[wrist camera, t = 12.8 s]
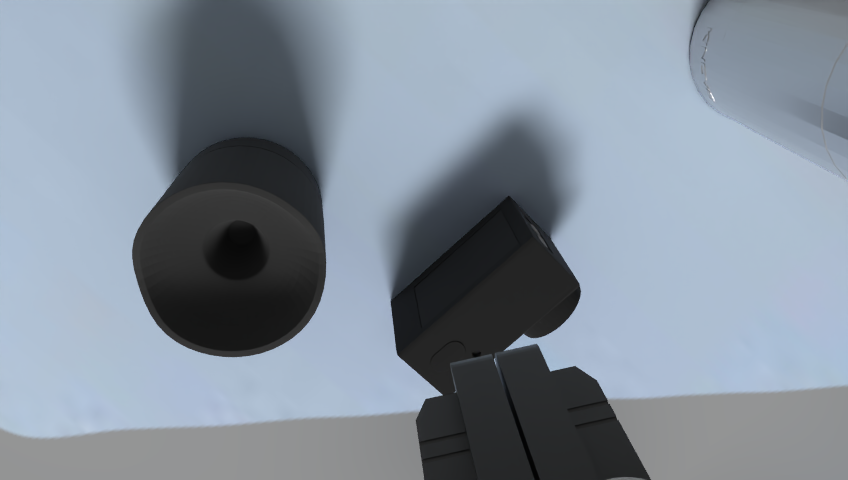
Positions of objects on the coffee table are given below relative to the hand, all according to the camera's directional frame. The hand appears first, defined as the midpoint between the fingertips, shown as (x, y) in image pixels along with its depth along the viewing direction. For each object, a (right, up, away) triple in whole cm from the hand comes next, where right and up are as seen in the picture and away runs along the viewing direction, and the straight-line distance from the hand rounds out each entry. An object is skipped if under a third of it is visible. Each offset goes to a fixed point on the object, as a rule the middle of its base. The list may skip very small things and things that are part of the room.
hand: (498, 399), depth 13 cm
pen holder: (-12, +5, +35) cm, 37 cm away
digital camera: (+2, 0, +38) cm, 38 cm away
